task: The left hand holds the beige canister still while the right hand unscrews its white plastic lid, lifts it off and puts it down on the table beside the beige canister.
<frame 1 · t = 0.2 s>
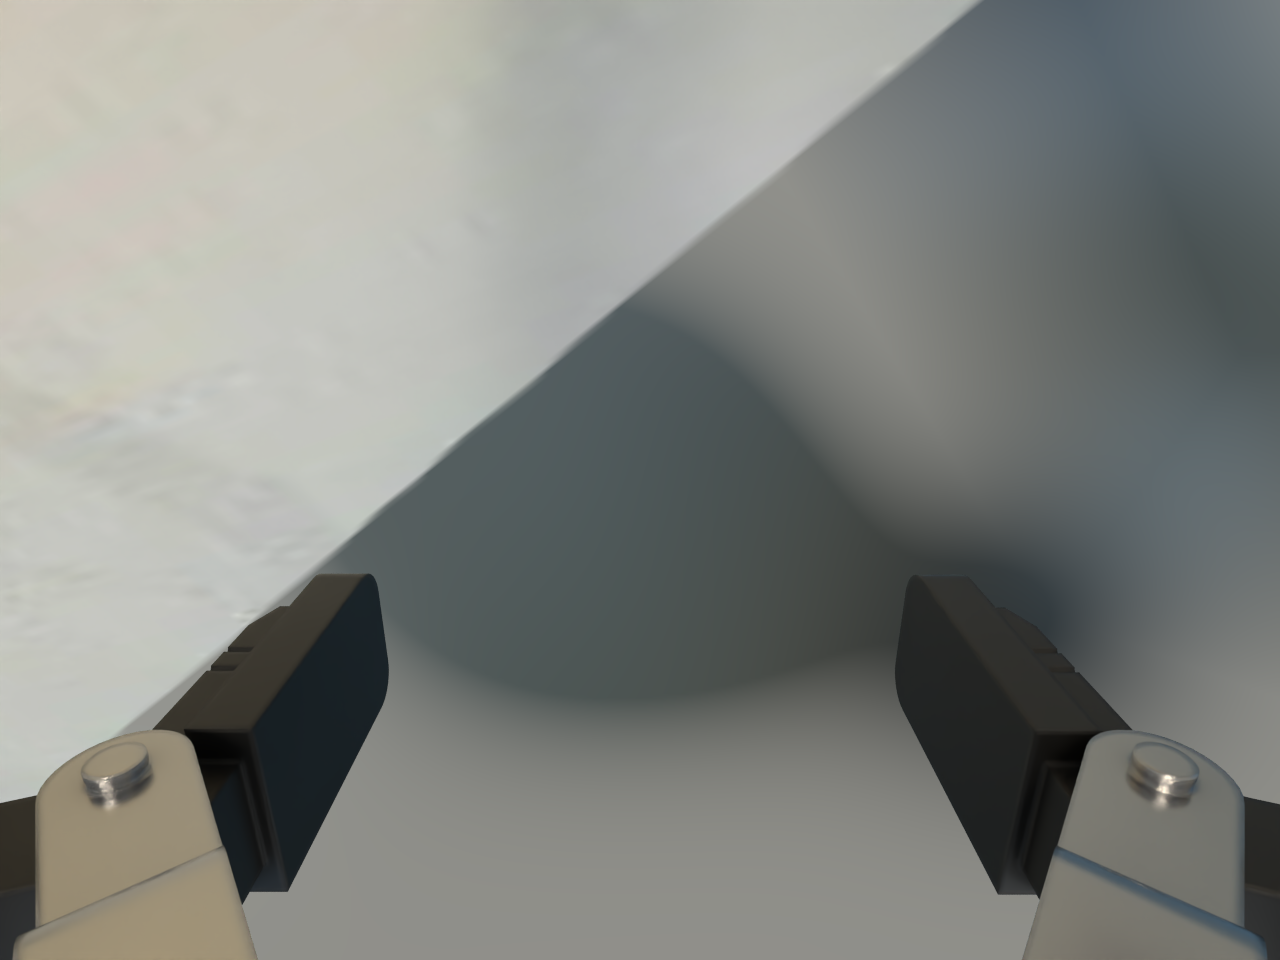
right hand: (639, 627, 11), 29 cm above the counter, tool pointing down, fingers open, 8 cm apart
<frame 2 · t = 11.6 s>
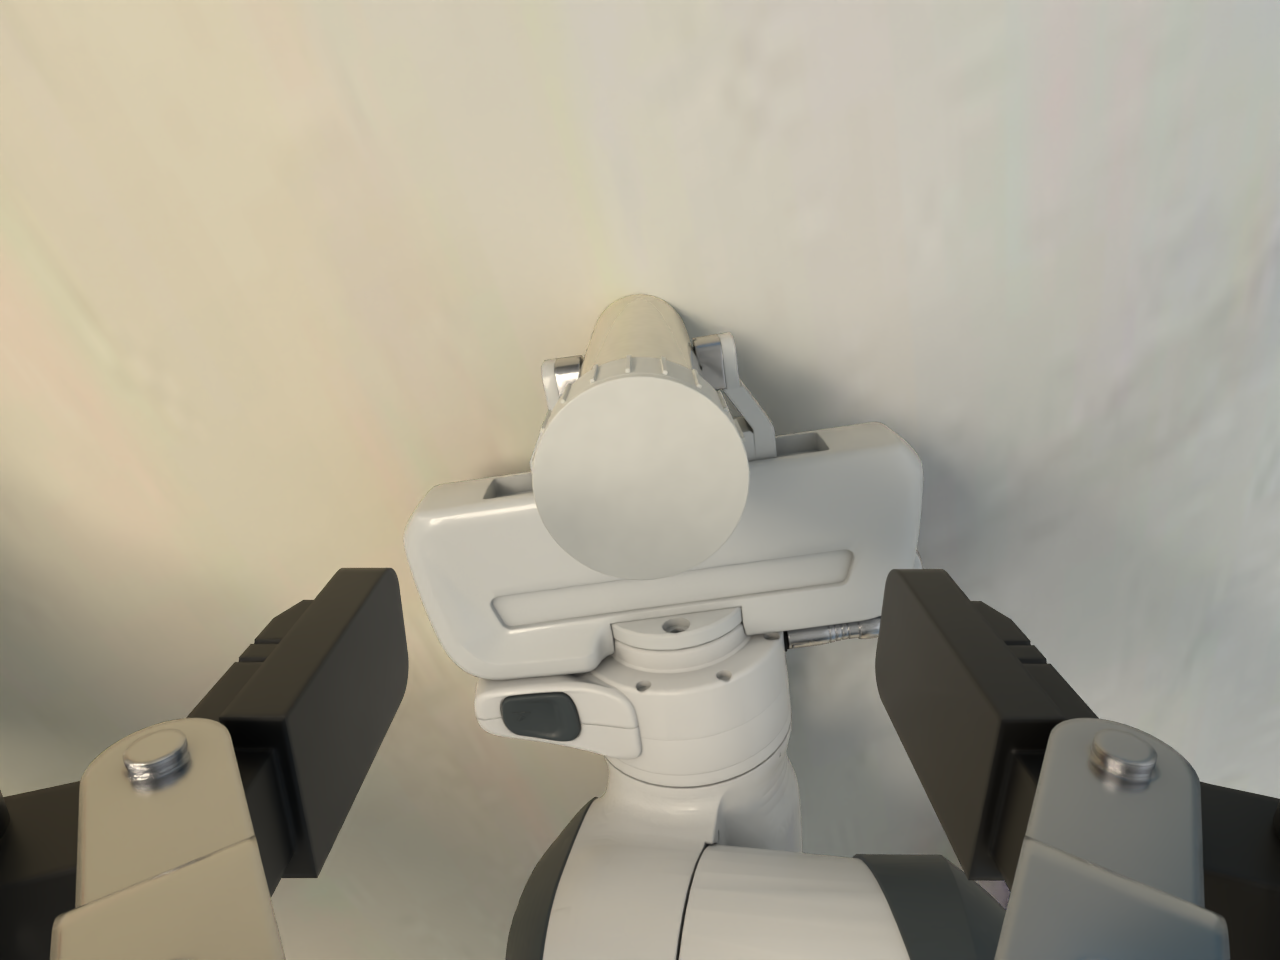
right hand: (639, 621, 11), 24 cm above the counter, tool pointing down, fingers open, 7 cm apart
beige canister: (640, 342, 34), on the counter, touching left hand
lid: (640, 478, 17), point 18 cm above the counter, screwed on, not yet turned
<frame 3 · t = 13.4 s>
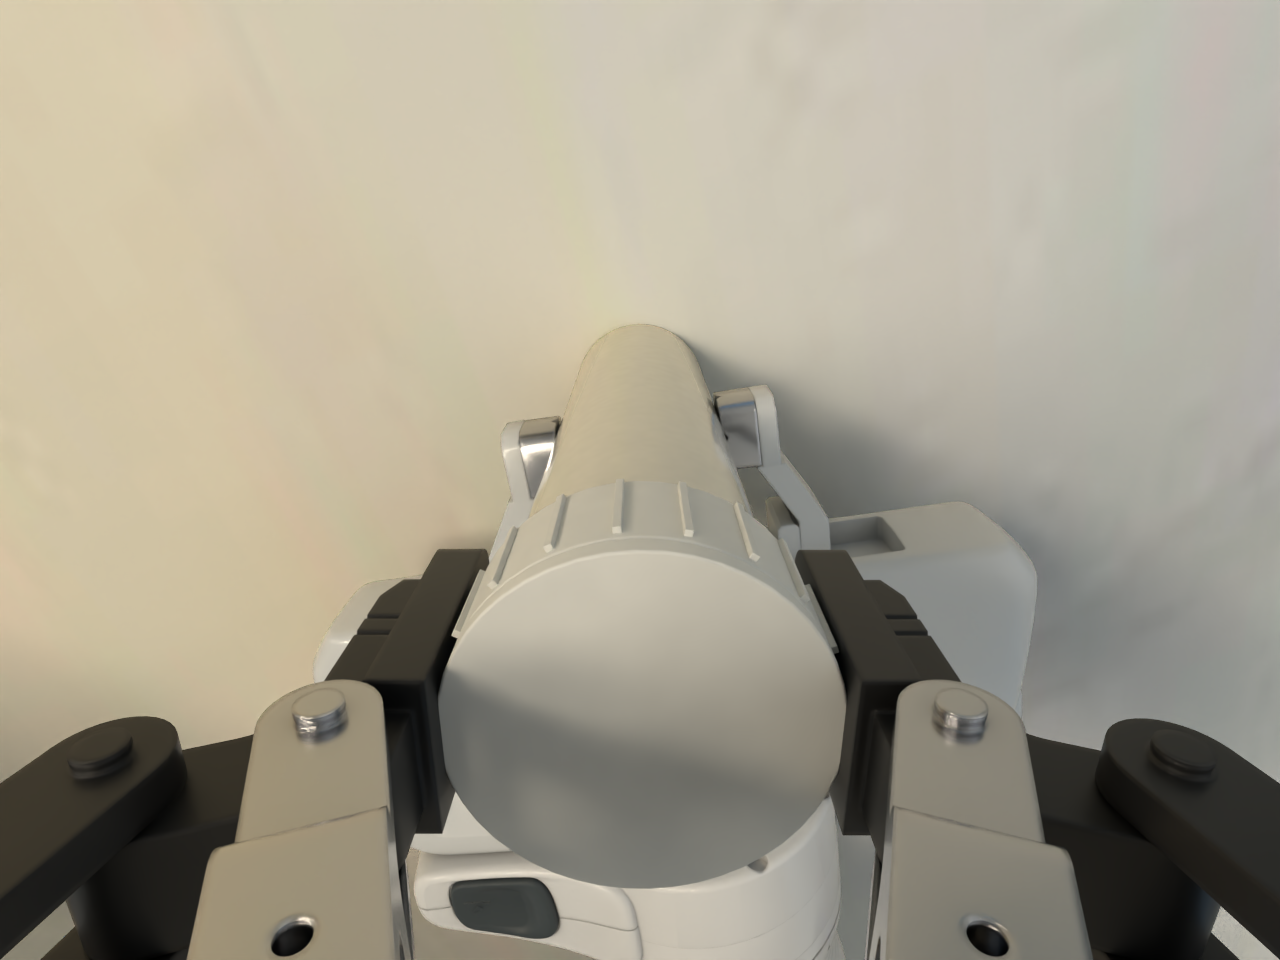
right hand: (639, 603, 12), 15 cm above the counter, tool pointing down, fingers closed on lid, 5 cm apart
beige canister: (640, 386, 26), on the counter, touching left hand
lid: (642, 718, 9), point 18 cm above the counter, screwed on, not yet turned, touching right hand
when the right hand's fingers open (15 cm above the counter, at t = 15.2 s): lid stays where it is, point 18 cm above the counter.
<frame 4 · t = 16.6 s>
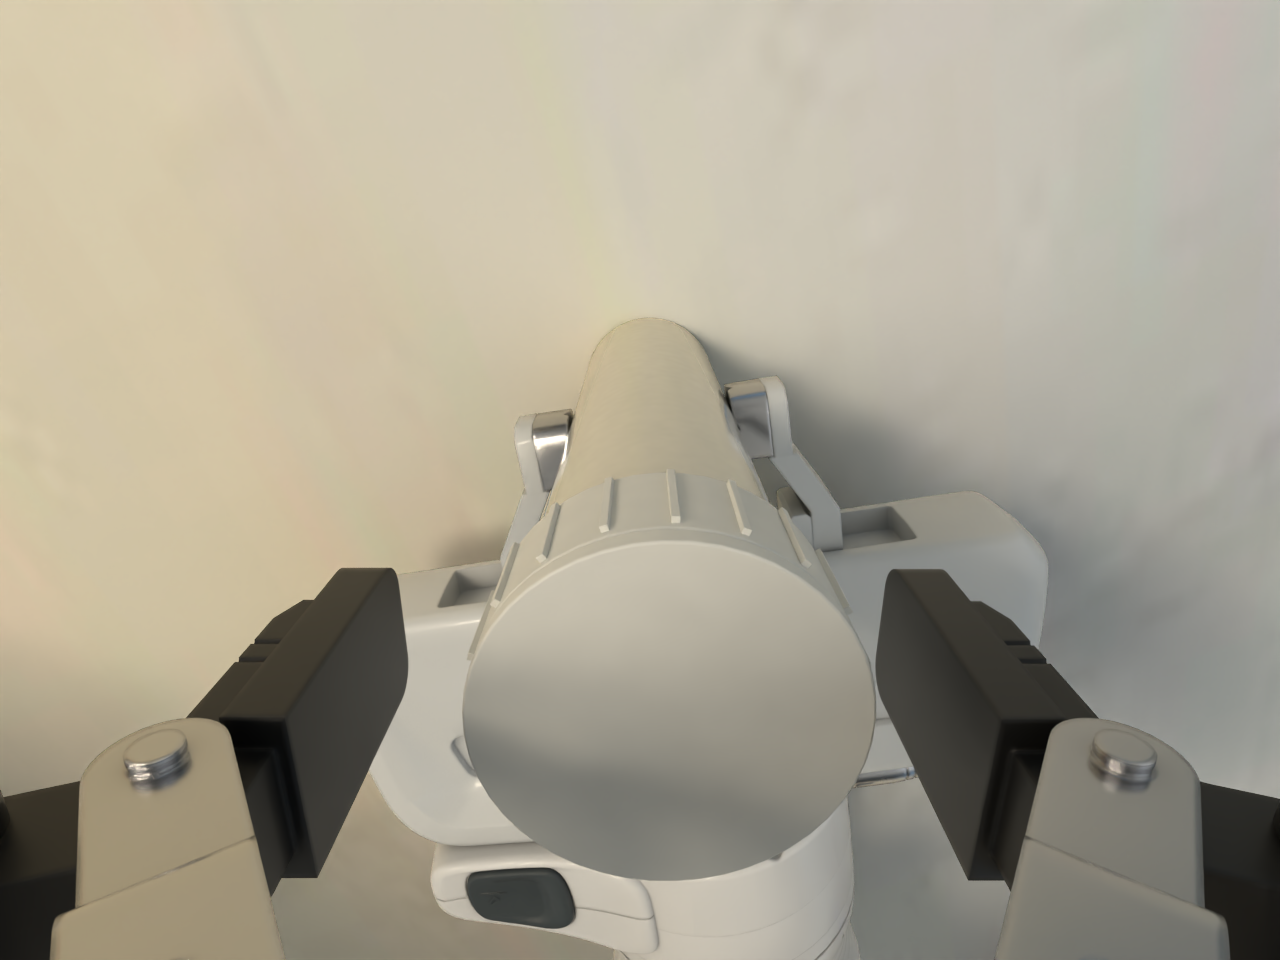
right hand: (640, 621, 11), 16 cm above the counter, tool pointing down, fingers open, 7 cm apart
beige canister: (649, 380, 26), on the counter, touching left hand
lid: (668, 709, 9), point 18 cm above the counter, turned 105° so far, risen 0.2 cm, still on its thread
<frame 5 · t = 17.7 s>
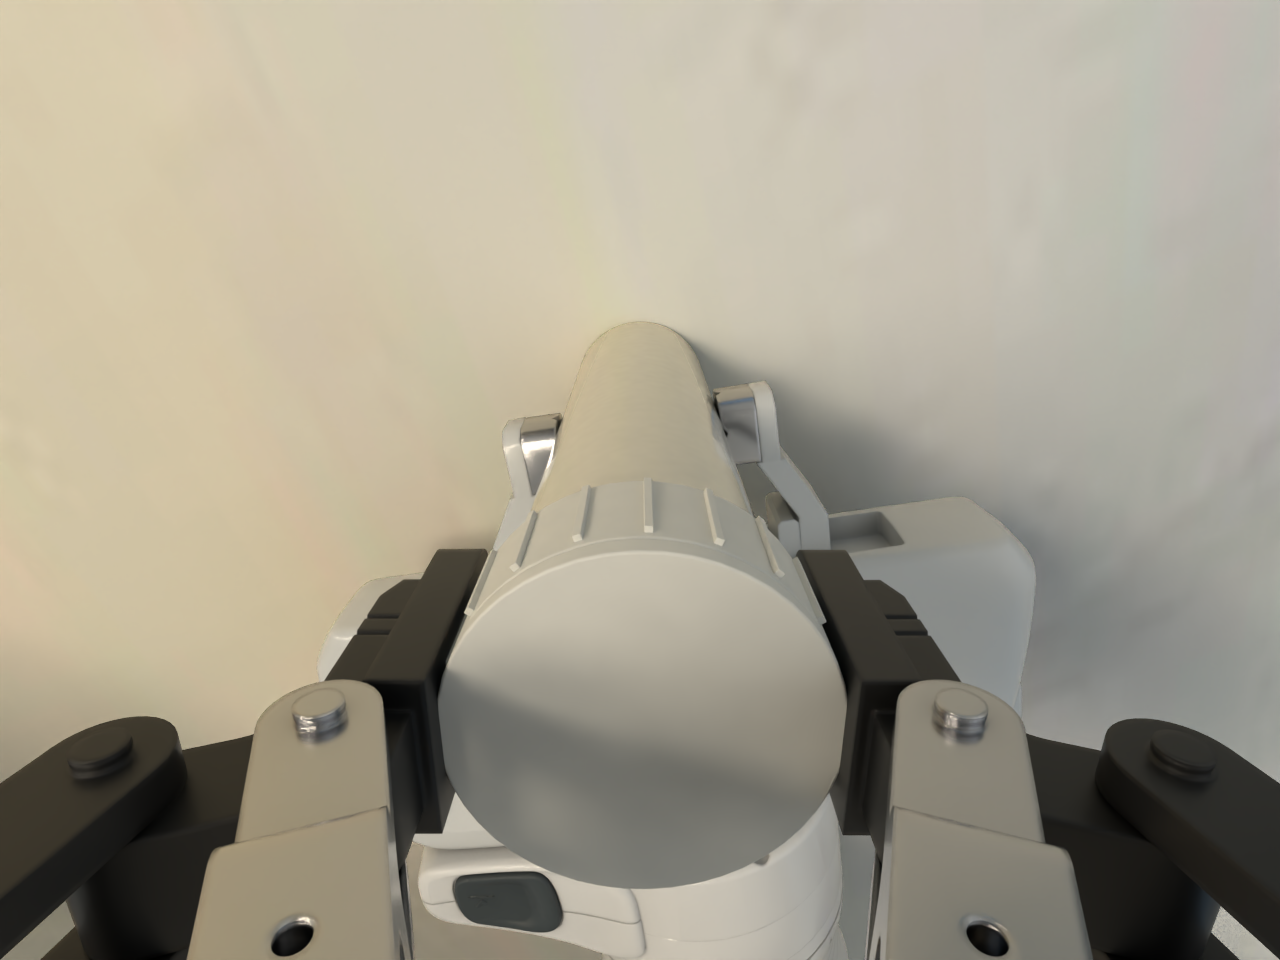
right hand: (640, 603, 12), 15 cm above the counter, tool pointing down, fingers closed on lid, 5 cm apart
beige canister: (640, 384, 26), on the counter, touching left hand
lid: (642, 718, 9), point 18 cm above the counter, turned 105° so far, risen 0.2 cm, still on its thread, touching right hand
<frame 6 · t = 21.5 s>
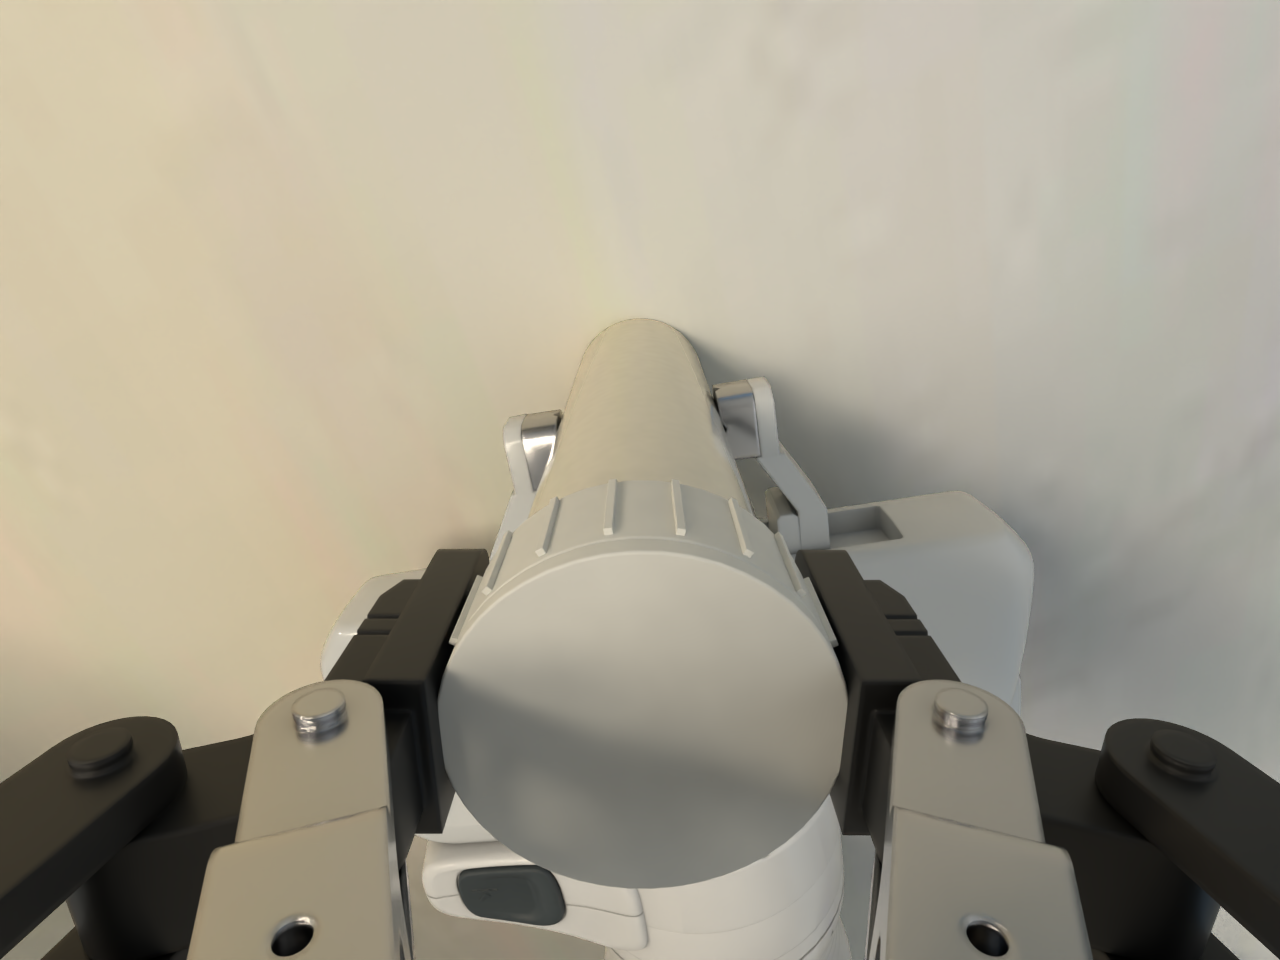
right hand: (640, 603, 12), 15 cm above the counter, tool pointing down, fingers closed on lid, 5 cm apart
beige canister: (640, 380, 26), on the counter, touching left hand
lid: (643, 718, 9), point 18 cm above the counter, turned 210° so far, risen 0.4 cm, still on its thread, touching right hand
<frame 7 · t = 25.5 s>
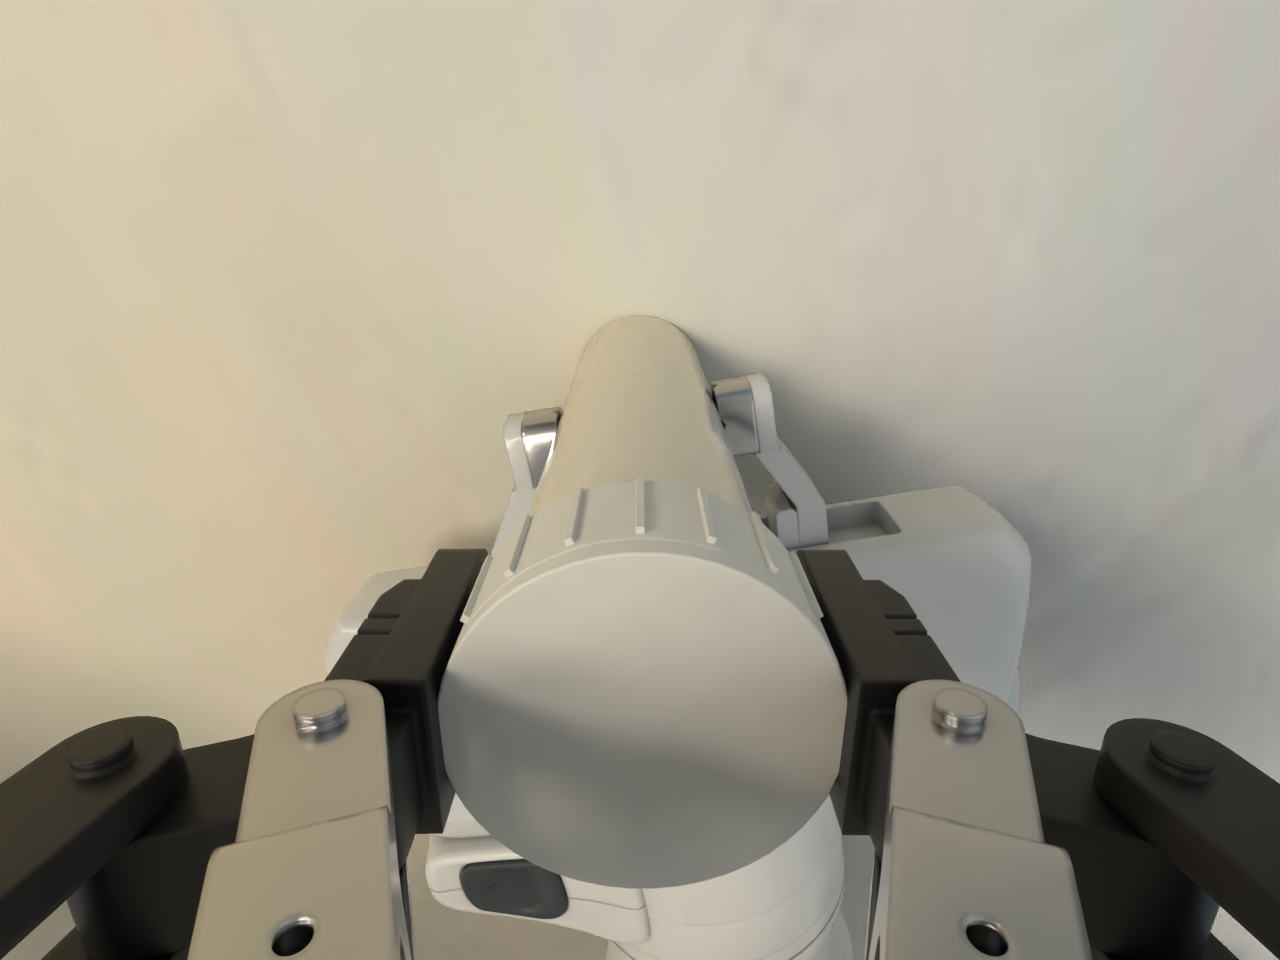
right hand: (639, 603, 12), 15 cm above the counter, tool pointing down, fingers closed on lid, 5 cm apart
beige canister: (639, 377, 26), on the counter, touching left hand
lid: (642, 719, 9), point 18 cm above the counter, turned 315° so far, risen 0.5 cm, still on its thread, touching right hand
when the right hand's fingers open (0 cm above the counter, at t = 32.7 s): lid drops 1 cm, point 2 cm above the counter.
when the left hand's fingers open (6 cm above the counter, at t = 33.8 s): beige canister stays where it is, on the counter.
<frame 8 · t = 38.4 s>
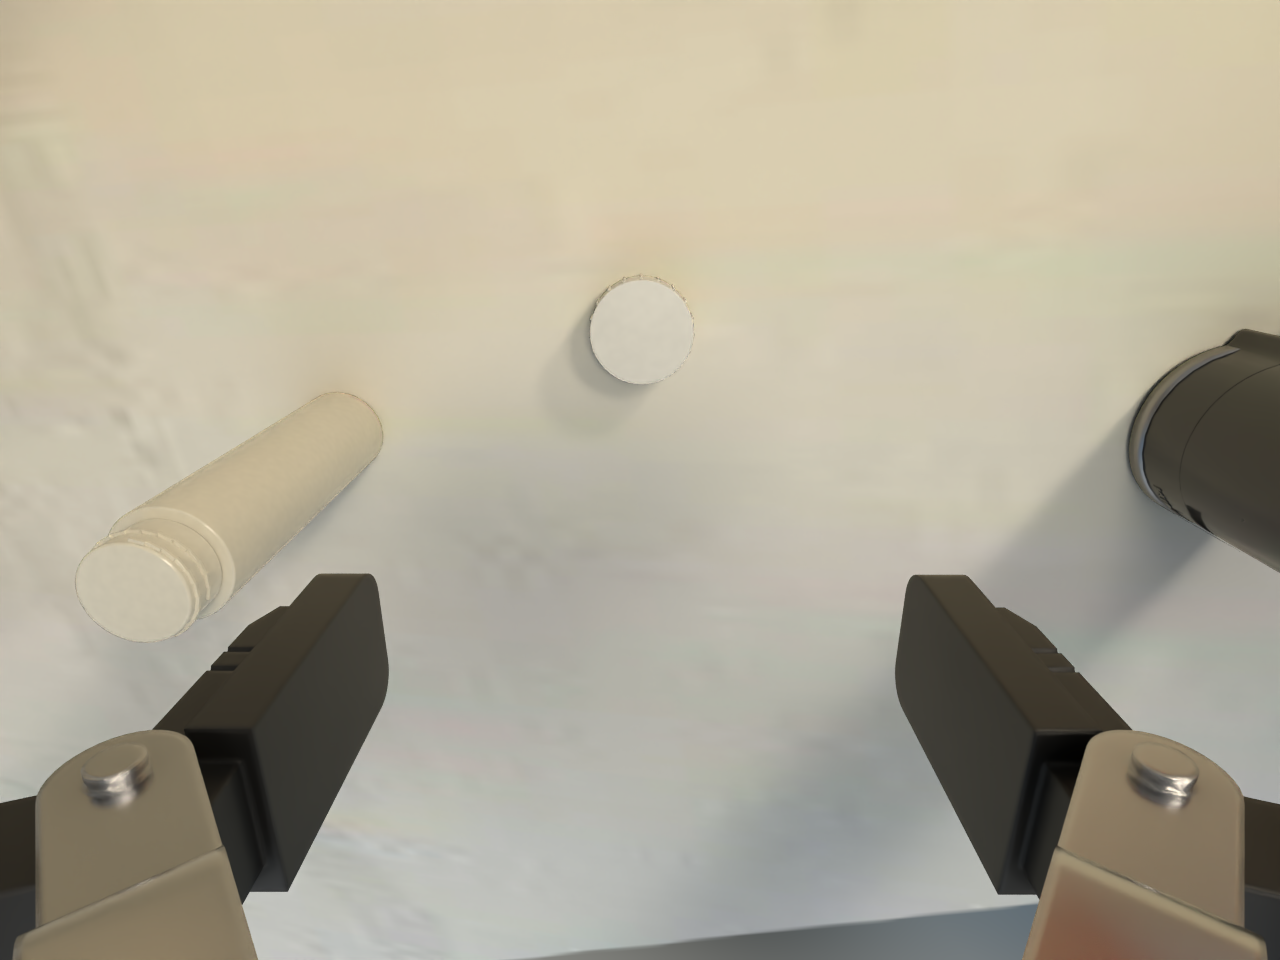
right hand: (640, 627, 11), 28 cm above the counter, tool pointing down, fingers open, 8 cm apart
beige canister: (342, 431, 40), on the counter
lid: (641, 332, 36), point 2 cm above the counter, off its thread
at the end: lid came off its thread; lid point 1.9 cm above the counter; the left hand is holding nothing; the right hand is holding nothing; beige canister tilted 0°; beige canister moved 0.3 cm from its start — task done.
